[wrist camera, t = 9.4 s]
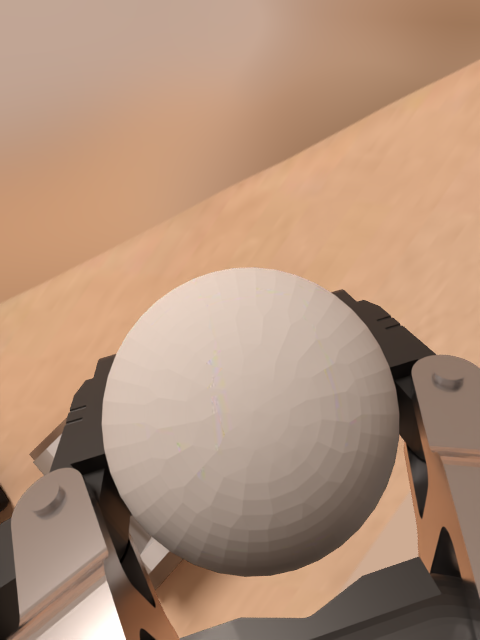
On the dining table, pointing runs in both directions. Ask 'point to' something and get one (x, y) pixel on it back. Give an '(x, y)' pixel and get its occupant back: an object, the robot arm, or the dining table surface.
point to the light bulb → (250, 422)
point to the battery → (3, 500)
